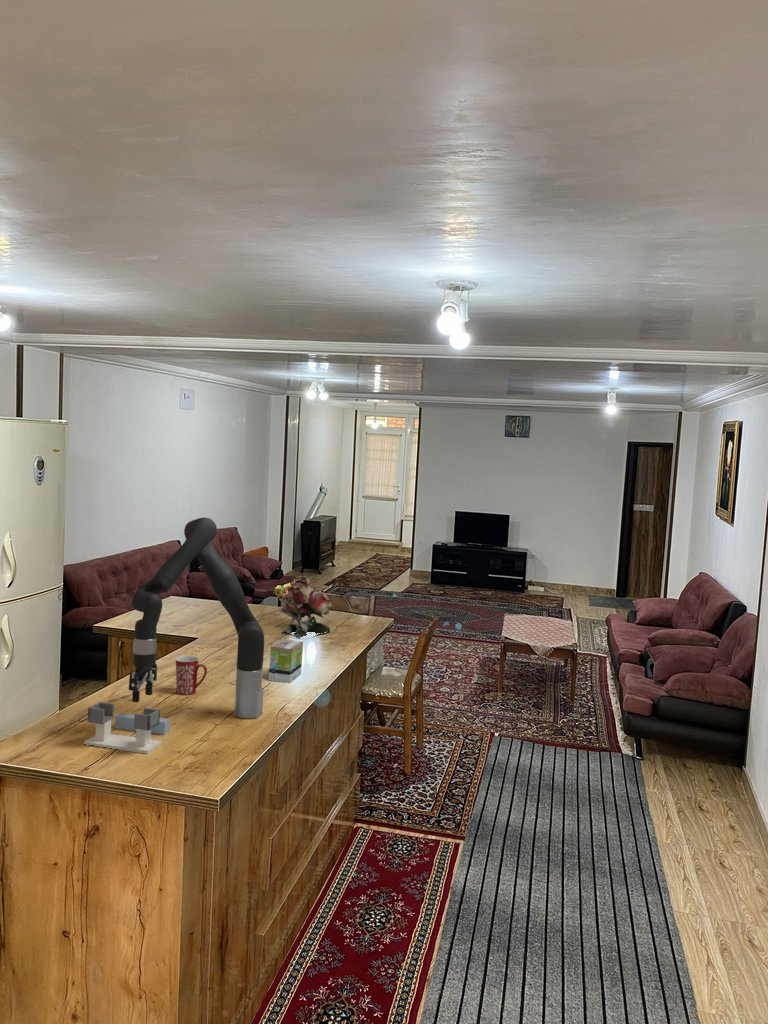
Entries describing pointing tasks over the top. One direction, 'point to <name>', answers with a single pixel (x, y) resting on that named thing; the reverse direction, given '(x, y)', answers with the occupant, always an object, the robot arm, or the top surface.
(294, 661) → the tea box
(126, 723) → the rail
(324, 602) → the rose bouquet
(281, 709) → the top surface
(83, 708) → the top surface
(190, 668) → the mug
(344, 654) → the top surface
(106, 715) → the stand
